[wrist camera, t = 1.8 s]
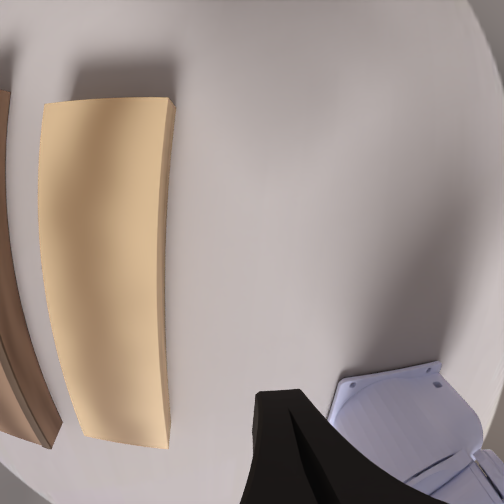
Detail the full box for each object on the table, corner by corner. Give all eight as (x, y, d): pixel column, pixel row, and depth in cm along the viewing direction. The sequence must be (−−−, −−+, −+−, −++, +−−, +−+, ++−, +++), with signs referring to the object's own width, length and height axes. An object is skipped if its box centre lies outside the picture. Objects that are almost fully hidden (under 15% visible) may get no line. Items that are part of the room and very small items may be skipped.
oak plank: (177, 109, 14) (168, 97, 11) (171, 418, 19) (168, 449, 16) (71, 111, 13) (44, 103, 10) (94, 407, 18) (84, 435, 15)
